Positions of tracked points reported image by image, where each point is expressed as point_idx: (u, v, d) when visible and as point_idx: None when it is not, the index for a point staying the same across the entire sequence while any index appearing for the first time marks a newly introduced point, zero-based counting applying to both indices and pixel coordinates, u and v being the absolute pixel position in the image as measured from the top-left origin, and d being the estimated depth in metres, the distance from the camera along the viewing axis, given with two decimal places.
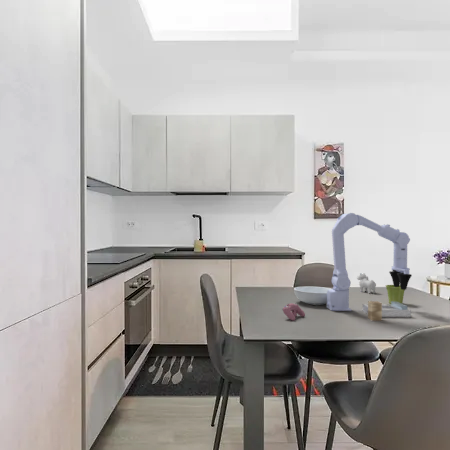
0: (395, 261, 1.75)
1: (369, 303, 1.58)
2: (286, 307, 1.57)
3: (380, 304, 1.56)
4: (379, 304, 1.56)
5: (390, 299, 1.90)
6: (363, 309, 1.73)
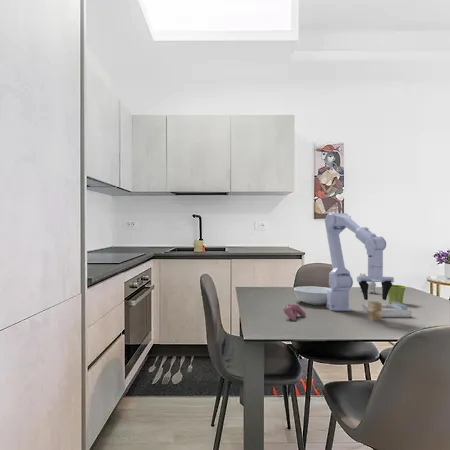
0: None
1: (369, 303, 1.58)
2: (287, 307, 1.57)
3: (380, 304, 1.56)
4: (379, 304, 1.56)
5: (390, 299, 1.90)
6: (363, 309, 1.73)
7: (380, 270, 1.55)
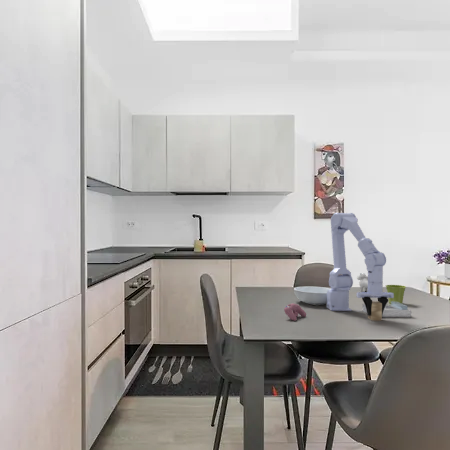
0: None
1: None
2: (287, 307, 1.57)
3: (380, 304, 1.56)
4: (379, 304, 1.56)
5: (390, 299, 1.90)
6: (363, 309, 1.73)
7: (380, 286, 1.55)
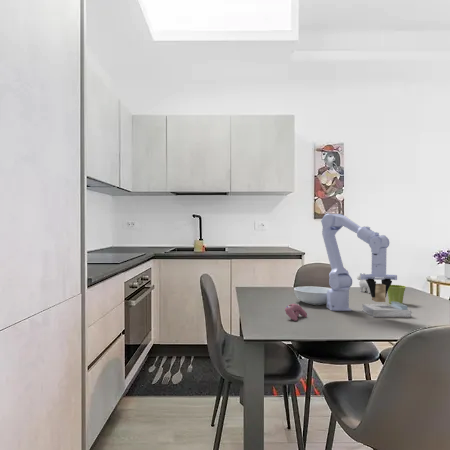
0: None
1: None
2: (288, 307, 1.57)
3: (384, 286, 1.59)
4: (383, 286, 1.59)
5: (390, 299, 1.90)
6: (363, 309, 1.73)
7: (384, 268, 1.59)
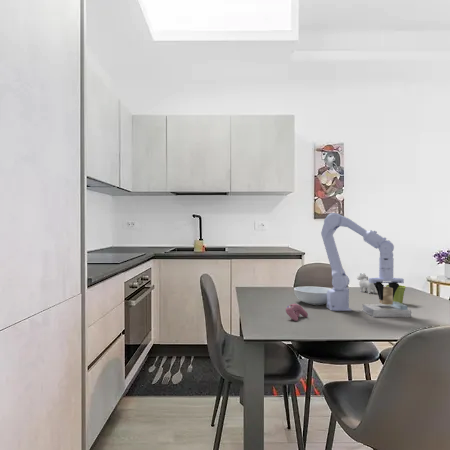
0: None
1: None
2: (289, 307, 1.56)
3: (391, 289, 1.66)
4: (390, 289, 1.66)
5: None
6: (363, 309, 1.73)
7: (391, 272, 1.66)
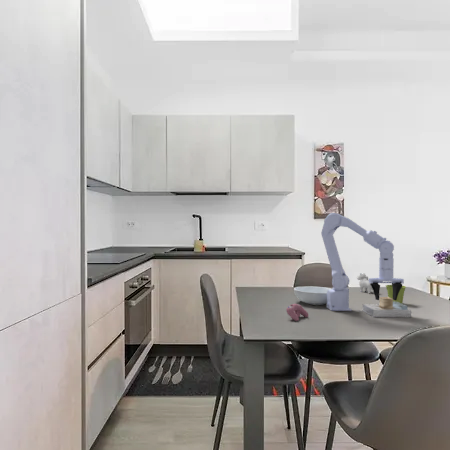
0: None
1: (380, 299, 1.69)
2: (290, 307, 1.56)
3: (391, 299, 1.66)
4: (390, 300, 1.66)
5: None
6: (363, 309, 1.73)
7: (391, 272, 1.66)
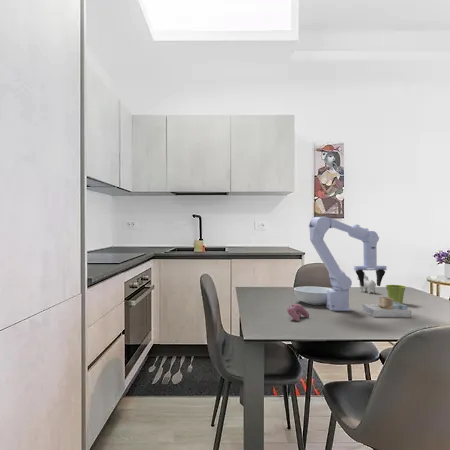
0: None
1: (381, 299, 1.69)
2: (290, 308, 1.56)
3: (391, 299, 1.66)
4: (390, 300, 1.66)
5: None
6: (363, 309, 1.73)
7: (374, 260, 1.77)
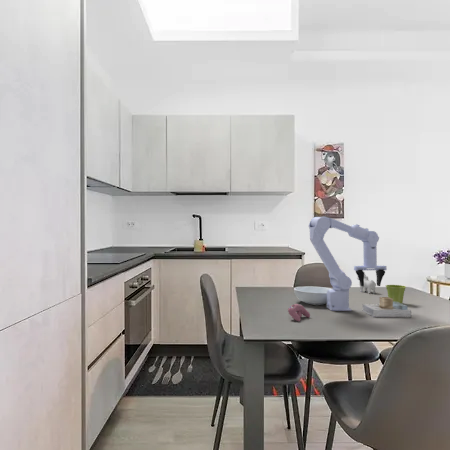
0: None
1: (380, 299, 1.69)
2: (291, 308, 1.56)
3: (391, 299, 1.66)
4: (390, 300, 1.66)
5: None
6: (363, 309, 1.73)
7: (374, 260, 1.77)
